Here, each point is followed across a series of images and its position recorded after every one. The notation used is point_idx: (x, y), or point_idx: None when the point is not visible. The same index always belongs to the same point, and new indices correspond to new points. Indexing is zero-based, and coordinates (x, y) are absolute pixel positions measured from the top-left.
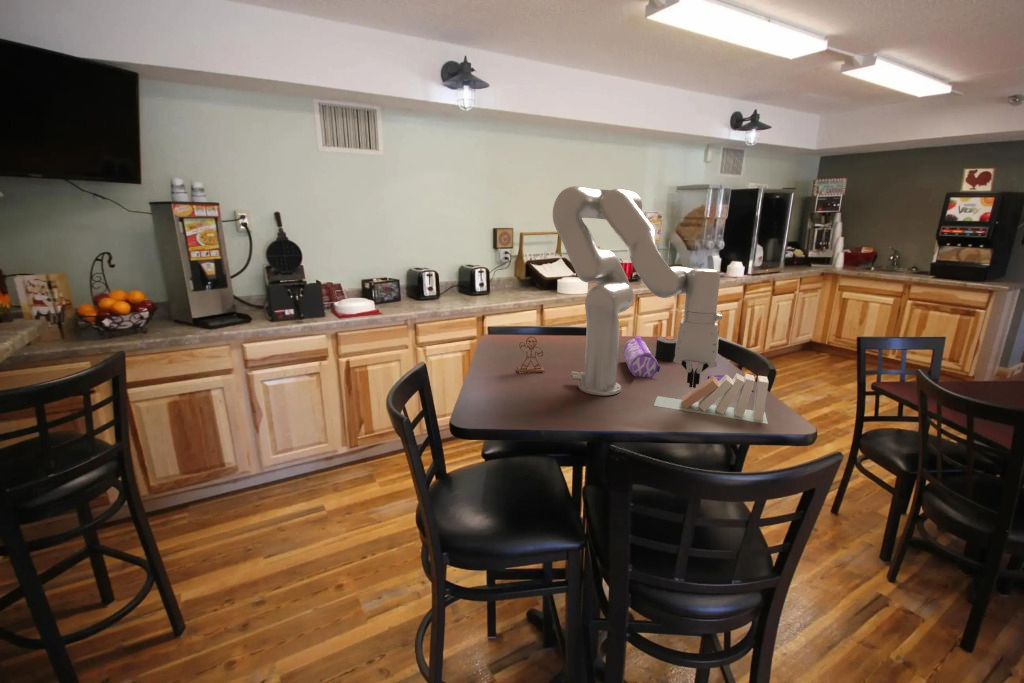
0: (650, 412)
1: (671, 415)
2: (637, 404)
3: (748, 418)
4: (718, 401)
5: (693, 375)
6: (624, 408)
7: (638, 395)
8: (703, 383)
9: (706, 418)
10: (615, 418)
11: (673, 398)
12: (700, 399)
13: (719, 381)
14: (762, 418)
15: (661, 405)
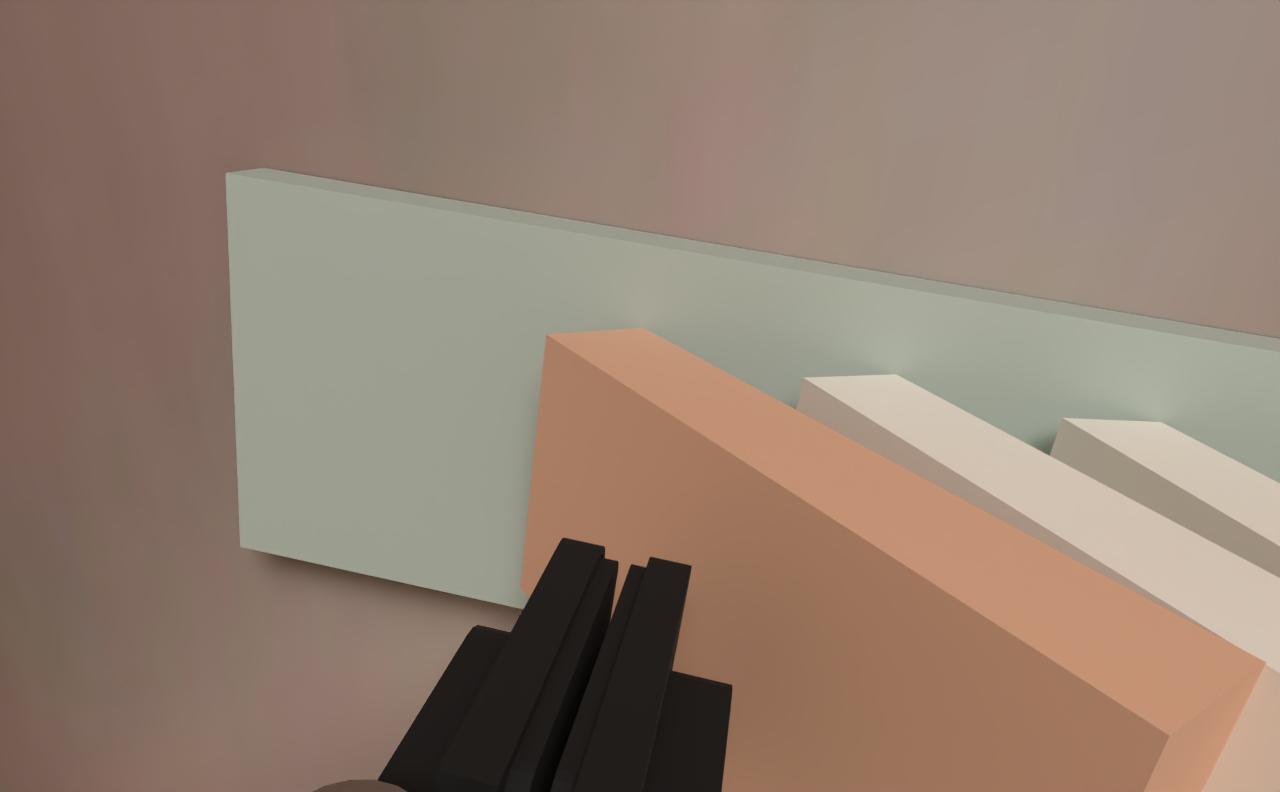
0: (257, 592)
1: (466, 628)
2: (87, 396)
3: None
4: None
5: (556, 751)
6: (8, 542)
7: (10, 45)
8: (842, 630)
9: None
10: (18, 772)
11: (449, 210)
12: (815, 419)
13: (1263, 763)
14: None
15: (321, 524)
